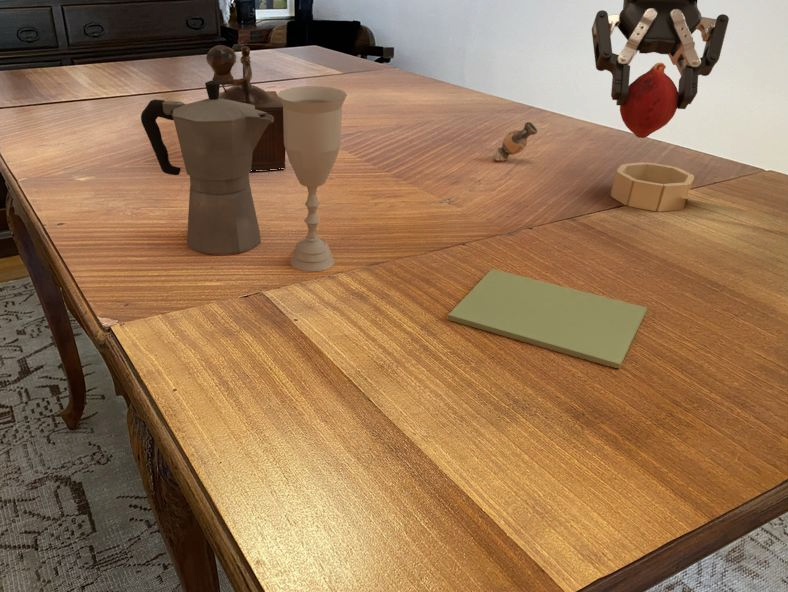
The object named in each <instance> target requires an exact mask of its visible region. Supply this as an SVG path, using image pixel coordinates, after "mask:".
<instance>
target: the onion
mask: <svg viewBox="0 0 788 592" xmlns="http://www.w3.org/2000/svg"><path fill="white" fill-rule="evenodd" d="M666 67H667V66H666V65H665V63H663V62H656V63H655V64H654V65H653V66H652V67H651V68H650V69H649V70H648V71H647V72H645V73H643V74H641V75H639V76H638V77H636V79H634V81H632V82H631V83H629V90H628V97H627V99H626V101H625V104H624V105H623V106H620V105H619V112H620V117H621V121H622V122H623V123H624V125H625V127H626V128H627V129H628V130H629V131H631V133H632V134H634V136H636V138H639V139H645V138H647V137H648V136H650V135H651V134H653V133H655V132H657V131H659V130H661V129H662V128H664V127H665V126H666V125H668V123H669V122H671V120H672V119H673V118H674V116H675V114H676V113H677V110H678V108H677V106H678V101H679V95H678V87H677V85H676V84H675V82H674V81H673V79H672V78H671V77H670V76H669V75H668V74H666V73H665V70H666Z"/></svg>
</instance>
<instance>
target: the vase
mask: <svg viewBox="0 0 788 592" xmlns="http://www.w3.org/2000/svg"><path fill="white" fill-rule="evenodd" d="M536 134H538V129H537V127H536V126H535V125H534V123H532V121H528V122H525V123H524V127H523V128H522V129H521V130H512V131H509V132H508V133H506V135H505V137H504V138H503V141H502V146H501V147H498V148H497V149H496V150H495V151H493V152H492V153H493V156H492V160H493V161H496V162H497V161H498V162H499V161H500V162H501V161H502V162H503V161H506V160H508V159H509V157H510V156H511V157H513V158H514V157H515V155H517V154H520V153H521V152H523V151H524V149H525V148H526V147H527V144H528V138H529V137H530V136H534V135H536Z"/></svg>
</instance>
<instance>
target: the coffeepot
mask: <svg viewBox="0 0 788 592" xmlns="http://www.w3.org/2000/svg"><path fill="white" fill-rule="evenodd" d="M204 86H205V89H206V93H207V96H208V98H205V99H200V100H198V101H192V102H189V103H184V102H182V101H179V100H164V99H157V98H156V99H151V100H150V101H149V102H148V103H147V105H146V106H145V108H144V109H143V111H142V112H141V113H140V114H141V115H140V121H141V124H142V127H143V129H144V131H145V133H146V135H147V138H148V141H149V143H150V146H151V147H152V149H153V152H154V154H155V157H156V160H157V161H158V164H159V166H160V168H161V171H162V172H163V173H164V174H166V175H170V176H178V175H180V173H181V170H182V167H178V166H175V165H173V164H171V162H170V157H169V152H168V148H167V146H166V144H165V142H164V141H163V136H162V133H161V129H160V126H159V124H158V122H157V119H158V118H162V119H165V120H169V121H172V122H174V127H175V131H176V135H177V140H178V144H179V147H180V151H181V156H182V160H183V163H184V164H183V165H184V167H185V171H186V172H185V173H186V175H188V176H189V185H190V186H189V195H188V196H189V197H188V213H187V215H188V217H187V233H186V246H187V247H188V248H190V249H192V250H193V251H195V252H197V253H200V254H204V255H208V256H209V255H211V256H231V255H236V254H241V253H245V252H248V251H250V250H253V249H254V248H255V247H257V246H258V245H259V244H260V243H261V242H262V240H261V239H262V238H261V232H260V227H259V222H258V217H257V213H256V208H255V202H254V198H253V194H252V189H251V184H250V173H252V172H251V165H252V154H253V151H254V149H255V147H256V145H257V143H258V141H259V139H260V137H261V135H262V134H263V132H264V130H265V129H266V127H267V126H268V124H270V123H273V122H274V119H273V117H272V115H270V114H267V112H263V111H259V110H256V109H255V105H251V104H246V103H241V102H236V101H232V100H226V99H221V98H219V92H220V88H221V87H220V86H221V85H220V82H217V81H213V80H212V79H211V80H208V81H206V82H205V83H204Z"/></svg>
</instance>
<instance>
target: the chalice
mask: <svg viewBox="0 0 788 592" xmlns="http://www.w3.org/2000/svg"><path fill="white" fill-rule="evenodd" d="M277 95H278V97H279V99H280V101H281V103H282V105H283V123H284V146H285V149H286V150H285V153H286V155H287V158H288V161H289V164H290V166H291V168H292V170H293V172H294V174H295V176H296V178H297V180H298V182H299V184H300V185H302V186H304V187H306V188H307V193H308V194H307V198H306V201H305V203H304V206H305V207H306V208H307V216H306V218H304V220H303V221H304V223H306V225H307V235H305V237H304V238H302V239H299V240H298V242H297V243H296V245H295V249H294V250H293V252H292V256H291V257H290V259H289V264H290V266H292V267H293V268H294V269H296V270H300V271H303V272H322V271H326V270H329V269H330V268H332V267H333V266H335V263H336V261H335V258H334V257H333V256H332V251H331V250H330V246H329V244H328V243H327V242H326V240H324V239H323V238H321V237H320V236H318V233H317V228H318V224H319V223H321V219H320V218H319V217H318V214H317V211H318V207H319V206H320V202H319V201H318V196H317V191H318V188H319V187H321V186H323V185H325V184H326V182H327V180H328V178H329V175H330V173H331V172H332V170H333V167H334V165H335V163H336V160H337V157H338V154H339V151H340V148H341V145H342V118H343V117H342V115H343V114H342V113H343V105H344V102H345V100H346V98H347V96H348V93H347V92H345V91H344V90H342V89H339V88H335V87H329V86H320V85H319V86H318V85H305V86H303V85H302V86H293V87H289V88H285V89H283V90H282V89H281V90H280V91H279V92H278V93H277Z"/></svg>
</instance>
